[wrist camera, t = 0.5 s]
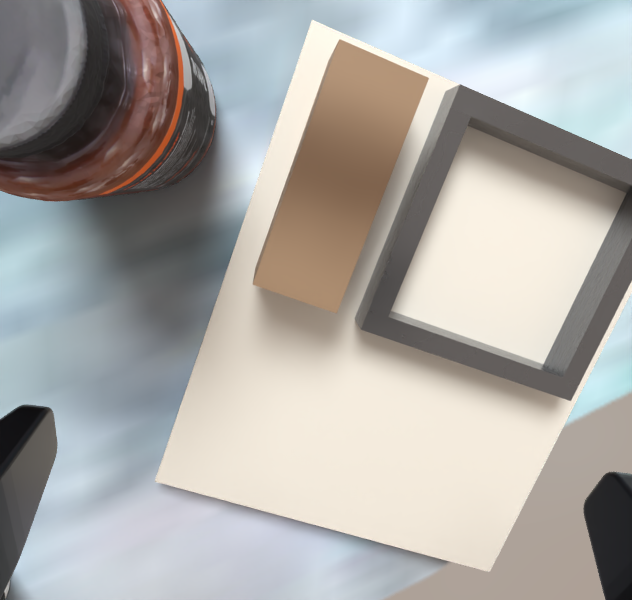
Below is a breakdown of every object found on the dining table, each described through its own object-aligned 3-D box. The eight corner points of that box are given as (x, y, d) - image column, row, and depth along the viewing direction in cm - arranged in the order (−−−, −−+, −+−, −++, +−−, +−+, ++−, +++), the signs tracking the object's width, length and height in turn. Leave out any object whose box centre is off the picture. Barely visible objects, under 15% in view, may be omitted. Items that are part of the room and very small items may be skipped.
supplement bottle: (235, 51, 19) (187, -113, 8) (199, 209, 20) (116, 252, 9) (68, -1, 18) (-235, -263, 7) (41, 167, 19) (-252, 160, 9)
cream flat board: (481, 556, 25) (489, 572, 24) (159, 468, 23) (154, 481, 22) (668, 183, 22) (687, 183, 21) (310, 27, 19) (312, 20, 18)
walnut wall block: (327, 293, 21) (336, 313, 18) (255, 268, 20) (252, 284, 17) (404, 92, 19) (429, 78, 16) (328, 60, 18) (339, 38, 16)
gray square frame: (551, 386, 22) (570, 401, 21) (354, 318, 21) (360, 329, 19) (652, 180, 21) (681, 181, 19) (445, 91, 19) (459, 84, 18)
